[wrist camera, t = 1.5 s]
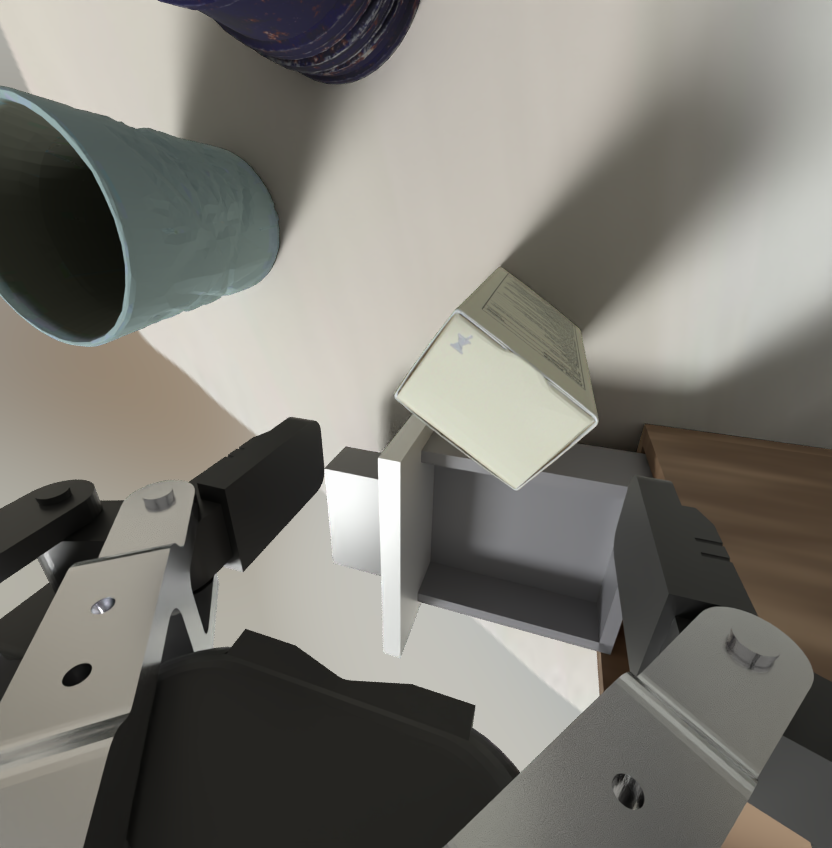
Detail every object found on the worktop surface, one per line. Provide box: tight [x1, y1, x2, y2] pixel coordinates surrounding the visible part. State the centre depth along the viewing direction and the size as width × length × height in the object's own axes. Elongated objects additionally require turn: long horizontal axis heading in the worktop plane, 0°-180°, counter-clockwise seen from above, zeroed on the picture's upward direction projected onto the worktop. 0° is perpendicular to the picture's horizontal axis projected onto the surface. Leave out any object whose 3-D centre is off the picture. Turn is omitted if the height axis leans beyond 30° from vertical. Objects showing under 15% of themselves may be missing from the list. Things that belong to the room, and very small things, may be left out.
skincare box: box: [394, 267, 599, 490], centre depth 20 cm, size 6×4×12 cm
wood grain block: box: [597, 424, 832, 848], centre depth 19 cm, size 15×14×18 cm
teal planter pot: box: [0, 86, 279, 347], centre depth 23 cm, size 10×10×12 cm
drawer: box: [324, 414, 653, 658], centre depth 27 cm, size 15×19×8 cm
